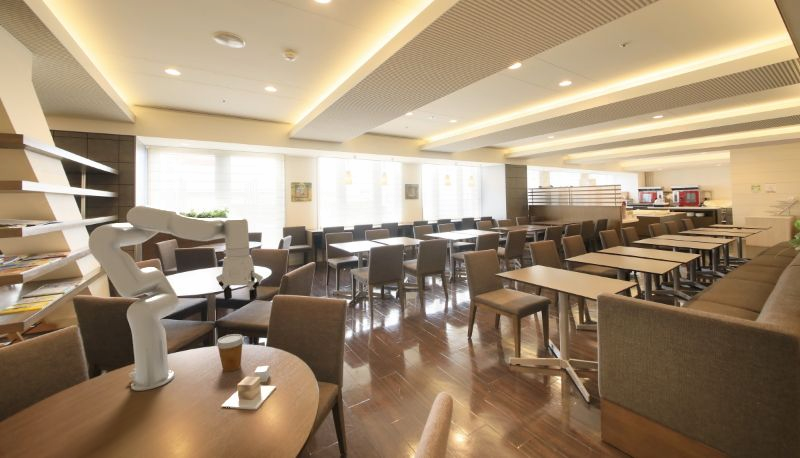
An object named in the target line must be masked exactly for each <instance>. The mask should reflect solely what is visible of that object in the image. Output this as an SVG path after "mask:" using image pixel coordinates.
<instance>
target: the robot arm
mask: <svg viewBox="0 0 800 458" xmlns="http://www.w3.org/2000/svg"><path fill="white" fill-rule="evenodd" d="M126 221H127V222H117V223H109V224H103V225H100V226H98V227H96V228H95V229H94V230H92V232H91V233H90V235H89V237H88V248H89V251H90V253H91V255H92V256H93V257H94V259H95V260H96V261H97V262H98V263H99V265H100V266H101V267H102V269H103V270H104V271H105V274H106V275H107V277H108V278H109V281H110V282H111V283H112V285H113V287H114V288H115V290H116V291H117V293H118V294H119V295H120V296H121V297H122V298H124V299H133V298H137V297H140V296H143V295H147V296H145V297H142V298H140V299H137V300H135V301H134V302H133V303H132V304H131V305H129V307H128V308H127V311H126V319H127V321H128V323H129V328H130V330H131V335H132V337H131V338H132V344H133V346H132V347H133V355H134V366H135V367H134V368H132V370H131V372H129V373H128V377H129V378H133V379H134V380H133V381H132V382H131V385H130V386H131V390H133V391H139V392H140V391H141V392H142V391H147V390H148V391H149V390H152V389H155V388H156V389H157V388H158V387H162V386H163V385H165V384H168V383H169V382H170V381H171V380H172V379H174V377H175V372H174V371H173V370H171V369H169V359H168V358H169V357H168V346H167V344H168V343H167V332H166V329H165V327H164V326H163V324H162V322H161V319H163V318H165V317H167V316H169V315H171V314H173V313H174V312H176V311H177V310H178V308H179V304H180V300H179V298H178V294H177V293H176V292H175V290H174V288H173V287H172V284H171V283H170V281H169V279H168V278H167V277H166V275H165V274H164V272H162V271H161V270H160V269H159V268H156V267H152V266H148V267H143V268H140V267H139V266H138V265H137V263H136V262H135V260H134V258H133V257H132V255H130V254H128V252H125V251H124V250H122V249H121V247H129V246H134V245H140V244H143V243H145V242H146V241H148V240H150V239H151V238H153V237H154V236H156V235H157V234H158V233H164V234H170V235H172V236H175V237H177V238H180V239H184V240H192V241H197V242H198V241H199V242H209V241H214V240H219V239H220V240H221V239H224V242H225V243H224V244H225V249H223V254H225V256H224V257H223V261H222V271H221V274H219V275H218V276H216V277H215V279H216V281H217V282H218V286H220V287H221V289H222V290H223V297H224V301H229V300H231V299H232V298H233V295H232V293H233V292H232V286H247V287H248V288H249V290H248V293H249V301H251V302H253V301H255V300H257V297H258V295H257V294H258V292H257V289H258V287H259V286H260V285H261V284H262V281H263V278H264V277H263V276H262V275H260V274H258V273H256V272H255V267H254V266H255V265H254V260H253V257H252V255H250V242H249V241H250V239H249V238H250V236H249V222H248V220H247V219H246V218H244V217H243V218H242V217H240V218H239V217H237V218H236V217H233V218H223V217H214V218H213V217H212V218H197V217H189V216H186V215H185V216H184V214H183V213H182V212H181V211H179V210H177V209H176V210H175V209H168V208H167V207H165V206H163V205H156V204H155V205H152V204H151V205H149V204H148V205H137V206H134V207H132V208H131V209H129V211H127V214H126Z"/></svg>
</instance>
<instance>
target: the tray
mask: <svg viewBox="0 0 800 458" xmlns="http://www.w3.org/2000/svg"><path fill="white" fill-rule="evenodd" d="M276 388H277V386H276V385H263V384H261V392H260V393H259V394H258V395H257V396H256V397H255V398H254V399H253V400H244V399H238V390H237V391H235V392H234V393H233V394H232V395H231V396H230V397H229V398H228V399H227V400H225V402H224V403H223V404H221V408H223V407H226V408H227V407H228V408H227V409H229V407H230V409H242V410H243V409H244V410H258V409H259V408H260V407H261V405H262V404H263V403H265V401H266V400H267V399H268V398H269V396H270V395H272V393H273V392H274V390H275V389H276Z"/></svg>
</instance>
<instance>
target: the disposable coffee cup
mask: <svg viewBox="0 0 800 458" xmlns="http://www.w3.org/2000/svg"><path fill="white" fill-rule="evenodd" d="M244 340H245V339H244V337H243V335H242V334H241V333H240V334H239V333H233V334H227V335H224V336H222V337H219V338H218V339H217V343H216V347H217V348H218V353H219V357H220V363H221V366H222V371H223V372H227V373H228V372H233V371H236V370H238V369H240V368H241V366H242V364H241V363H242V352H243V342H244Z"/></svg>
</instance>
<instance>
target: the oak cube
mask: <svg viewBox="0 0 800 458" xmlns="http://www.w3.org/2000/svg"><path fill="white" fill-rule="evenodd" d="M236 385H237V391H238V399H244V400H253V399H254V398H255V397H256V396H257V395H258V394H259V393H260V392H261V385H262V384H261V382H260V377H255V376H245V377H244V378H243V379H242V380H241V381H240V382H239V383H237V384H236Z"/></svg>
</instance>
